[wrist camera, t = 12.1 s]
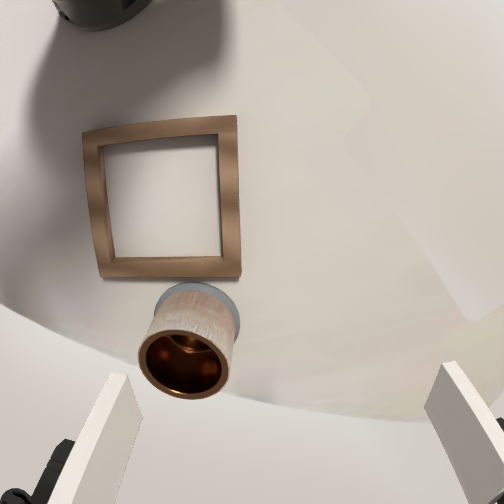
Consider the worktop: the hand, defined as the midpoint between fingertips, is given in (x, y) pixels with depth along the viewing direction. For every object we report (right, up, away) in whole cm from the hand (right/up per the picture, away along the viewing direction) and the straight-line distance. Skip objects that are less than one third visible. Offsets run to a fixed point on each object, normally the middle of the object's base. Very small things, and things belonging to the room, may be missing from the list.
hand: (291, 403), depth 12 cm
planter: (-9, -4, +31) cm, 33 cm away
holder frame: (-13, +12, +26) cm, 32 cm away
